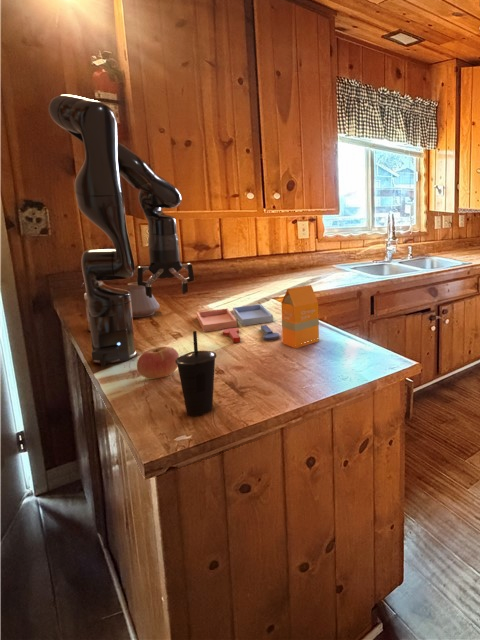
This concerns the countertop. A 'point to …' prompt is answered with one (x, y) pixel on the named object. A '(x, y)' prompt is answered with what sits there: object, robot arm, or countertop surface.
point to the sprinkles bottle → (87, 311)
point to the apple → (157, 362)
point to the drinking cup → (197, 379)
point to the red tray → (216, 319)
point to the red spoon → (232, 334)
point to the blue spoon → (269, 334)
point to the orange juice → (300, 317)
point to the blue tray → (252, 314)
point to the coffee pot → (141, 301)
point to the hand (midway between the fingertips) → (167, 295)
